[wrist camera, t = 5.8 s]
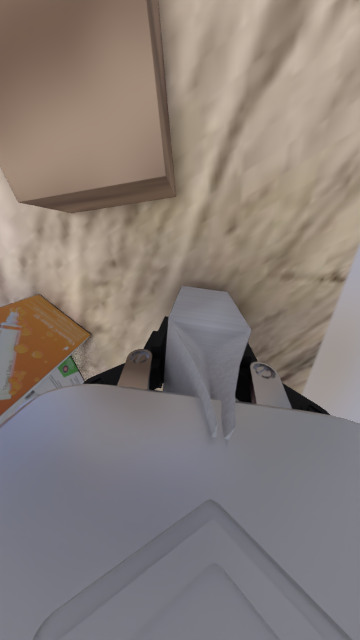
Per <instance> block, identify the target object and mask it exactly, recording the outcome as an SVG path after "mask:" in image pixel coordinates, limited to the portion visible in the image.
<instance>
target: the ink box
mask: <svg viewBox="0 0 360 640" xmlns="http://www.w3.org/2000/svg"><path fill="white" fill-rule="evenodd" d="M83 383H84V380H83V378H82V376H81V375H80V373H79V371H78V369H77V367H76V365H75V364H74V362H73V360H72V358H71V356H69V357H68V358H67V359H66V360H65V361H64V362H63V363H62V364H61V365H60V366H58V367H57V368H56V369H55V370H54V371H53V372H52V373H51V374H50V375H49V376H48V377H47V378H46V379H44V380H43V381H42V382H41V383H40V384H39V385H38V386H37V387H36V388H35V389H34V390H32V391H31V392H30V393H29V394H28V395H27V396H26V397H25V398H24V399H23V400H21V401H20V402H19V403H18V404H17V405H16V406H15V407H14V408H13V409H12V410H11V411H9V412H8V413H7V414H6V415H5V416H4V417H3V418H2V419H1V420H0V424H2V423H3V422H4V421H5V420H6V419H7V418H9V417H10V416H11V415H12V414H14V412H15V411H16V409H17V408H18V407H19V406H21V405H22V404H23V403H24V402H26V401H28V400H29V399H32V398H34V397H37V396H39V395H40V394H43V393H45V392H47V391H50V390H53V389H56V388H60V387H65V386H70V385H77V384H78V385H79V384H83Z"/></svg>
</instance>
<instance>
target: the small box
mask: <svg viewBox="0 0 360 640" xmlns="http://www.w3.org/2000/svg"><path fill="white" fill-rule="evenodd" d="M90 336H91V334H89V333H88V332H87V331H85V330H84V329H82V328H81V327H80V326H78V325H77V324H76V323H75V322H73V321H72V320H71V319H70V318H68V317H67V316H66V315H64V314H63V313H62V312H61V311H59V310H58V309H57V308H55V307H54V306H53V305H52V304H50V303H49V302H48V301H47V300H45V298H43V297H42V296H41V295H39V294H38V295H35V296H32V297H29V298H26V299H23V300H20V301H17V302H14V303H11V304H8V305H5V306H2V307H0V420H1V419H2V418H3V417H4V416H5V415H6V414H7V413H8V412H9V411H11V410H12V409H13V408H14V407H15V406H16V405H17V404H18V403H19V402H20V401H21V400H23V399H24V398H25V397H26V396H27V395H28V394H29V393H30V392H31V391H32V390H34V389H35V388H36V387H37V386H38V385H39V384H40V383H41V382H42V381H43V380H44V379H46V378H47V377H48V376H49V375H50V374H51V373H52V372H53V371H54V370H55V369H56V368H57V367H58V366H60V365H61V364H62V363H63V362H64V361H65V360H66V359H67V358H68V357H69V356H70V355H71V354H72V353H73V352H74V351H75V350H76V349H78V348H79V347H80V346H81V345H82V344H83V343H84V342H85V341H86V340H87V339H88V338H89V337H90Z"/></svg>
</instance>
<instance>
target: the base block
mask: <svg viewBox="0 0 360 640" xmlns="http://www.w3.org/2000/svg"><path fill="white" fill-rule="evenodd" d="M0 167H1V169H2V171H3V173H4V175H5V177H6V179H7V181H8V183H9V185H10V187H11V189H12V191H13V193H14V195H15V197H16V199H17V201H18V202H19V203H24V204H29V205H34V206H39V207H44V208H49V209H54V210H59V211H64V212H68V213H75V212H82V211H88V210H94V209H101V208H107V207H114V206H120V205H126V204H133V203H139V202H145V201H152V200H158V199H164V198H171V197H176V194H175V182H174V171H173V160H172V149H171V138H170V127H169V115H168V104H167V93H166V82H165V71H164V60H163V49H162V37H161V26H160V15H159V4H158V0H0Z"/></svg>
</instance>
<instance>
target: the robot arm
mask: <svg viewBox="0 0 360 640" xmlns="http://www.w3.org/2000/svg"><path fill="white" fill-rule="evenodd" d="M168 318H169V317H166V316H165V318H164V320H163V322H162V324H161V326H160V328H159V330H158V331H153V332H152V334H151V336H150V338H149V339H148V341H147V343H146V345H145V347H144V349H138V350H135V351H133V352H131V353H130V354H129V355H128V357H127V360H126V363H124V364H121V365H119V366H117V367H114V368H112V369H110V370H107V371H105V372H103V373H100V374H98V375H95V376H93V377H91V378H89V379H87V380H86V381H85V382H84V383H83V384H79V385H78V384H77V385H70V386H65V387H60V388H56V389H53V390H50V391H47V392H45V393H43V394H40V395H39V396H37V397H34V398H32V399H29V400H28V401H26V402H24V403H23V404H22V405H21V406H19V407H18V408H17V409H16V411H15V412H14V414H12V415H11V416H10V417H9V418H7V419H6V420H5V421H4V422H3V423H2V424H0V640H360V424H359V423H356V422H353V421H350V420H347V419H343V418H339V417H335V416H331V415H330V414H329V413H327V411H326V410H324V409H323V408H321V407H320V406H318V405H317V404H315V403H314V402H312V401H310V400H309V399H307V398H305V397H304V396H302V395H301V394H299V393H297V392H296V391H294V390H293V389H291V388H289V387H288V386H286V385H284V384H283V383H282V382H281V379H280V377H279V374H278V373H277V371H276V370H275V369H274V368H273V367H271V366H270V365H268V364H266V363H263V362H258V361H257V359H256V357H255V355H254V353H253V351H252V350H251V348H250V346H249V344H248V342H247V345H246V348H245V351H244V354H243V357H242V360H241V363H240V367H239V373H238V379H237V385H236V391H235V416H236V427H235V429H234V431H233V433H232V435H231V437H230V438H229V439H224V434H223V428H222V421H221V409H222V404H221V401H220V400H217V399H214V398H210V401H211V404H212V407H213V410H214V414H215V417H216V420H217V437H212V435H211V431H210V428H209V424H208V420H207V417H206V413H205V409H204V405H203V402H202V400H201V398H200V397H197V396H195V395H188V394H181V393H173V392H165V391H157V390H155V389H156V388H161V387H162V383H164V370H165V357H166V344H167V331H168Z"/></svg>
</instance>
